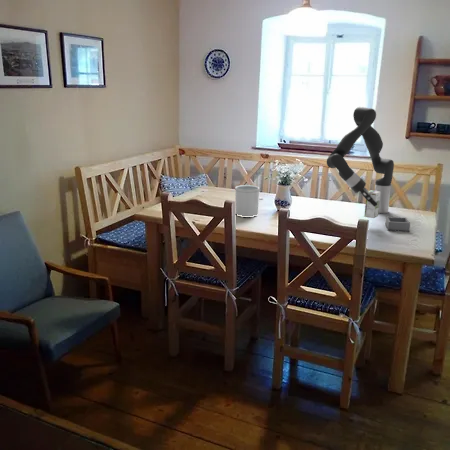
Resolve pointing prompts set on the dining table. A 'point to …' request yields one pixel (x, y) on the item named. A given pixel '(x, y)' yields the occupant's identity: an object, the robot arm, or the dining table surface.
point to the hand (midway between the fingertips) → (375, 203)
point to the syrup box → (369, 208)
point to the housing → (397, 224)
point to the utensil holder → (247, 200)
